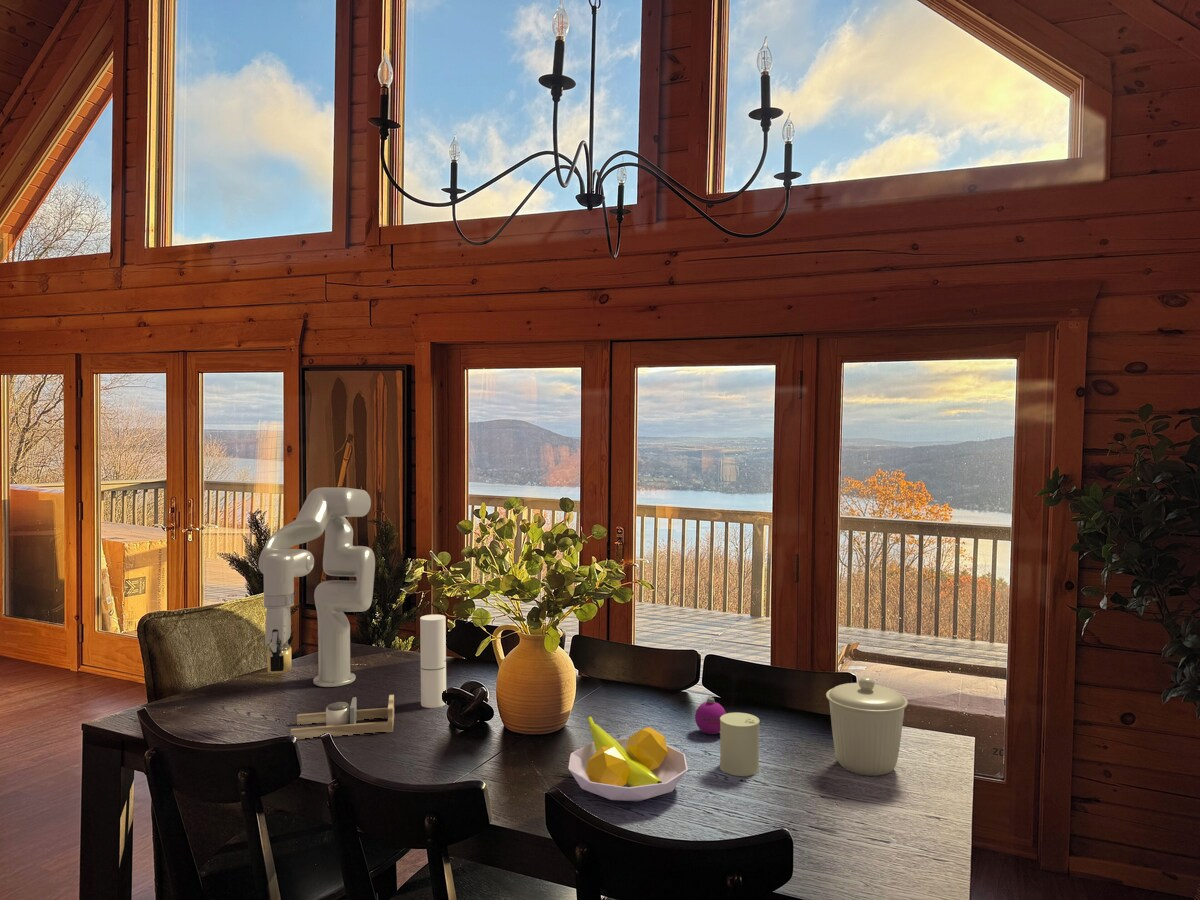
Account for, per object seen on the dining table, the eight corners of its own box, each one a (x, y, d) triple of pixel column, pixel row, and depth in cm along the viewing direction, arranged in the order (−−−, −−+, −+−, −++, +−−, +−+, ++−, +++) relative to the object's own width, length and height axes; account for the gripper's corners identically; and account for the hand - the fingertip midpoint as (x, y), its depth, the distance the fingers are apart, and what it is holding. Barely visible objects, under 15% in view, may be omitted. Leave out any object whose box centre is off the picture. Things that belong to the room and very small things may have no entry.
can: (750, 779, 185) (750, 727, 184) (713, 770, 190) (713, 719, 189) (765, 765, 192) (765, 714, 192) (728, 757, 197) (729, 707, 197)
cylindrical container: (449, 699, 239) (448, 614, 238) (442, 708, 232) (441, 620, 231) (425, 699, 240) (424, 614, 239) (417, 707, 233) (416, 620, 232)
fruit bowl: (708, 804, 172) (708, 751, 172) (584, 822, 165) (584, 767, 164) (661, 754, 199) (661, 708, 199) (552, 767, 192) (552, 719, 191)
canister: (817, 751, 201) (818, 666, 200) (892, 752, 200) (893, 666, 199) (836, 783, 183) (837, 689, 182) (918, 784, 182) (919, 690, 181)
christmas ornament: (701, 740, 208) (701, 701, 207) (690, 728, 216) (690, 691, 215) (731, 737, 210) (731, 698, 209) (719, 726, 218) (719, 689, 217)
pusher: (352, 719, 222) (352, 697, 222) (356, 719, 222) (356, 697, 222) (350, 731, 213) (349, 708, 213) (354, 730, 213) (353, 708, 213)
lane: (297, 723, 220) (297, 701, 220) (394, 716, 226) (393, 694, 225) (290, 740, 208) (290, 716, 208) (392, 731, 214) (392, 709, 214)
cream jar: (327, 725, 219) (327, 702, 219) (350, 723, 220) (350, 700, 220) (324, 733, 213) (324, 709, 213) (349, 731, 214) (348, 708, 214)
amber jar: (270, 667, 221) (269, 644, 221) (293, 666, 222) (293, 643, 222) (265, 673, 215) (265, 650, 215) (289, 672, 216) (289, 649, 216)
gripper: (271, 594, 226) (271, 659, 227) (256, 607, 209) (257, 677, 210) (299, 593, 228) (300, 657, 228) (287, 606, 211) (288, 676, 211)
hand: (279, 666), depth 219 cm, fingers closed on amber jar, 6 cm apart
